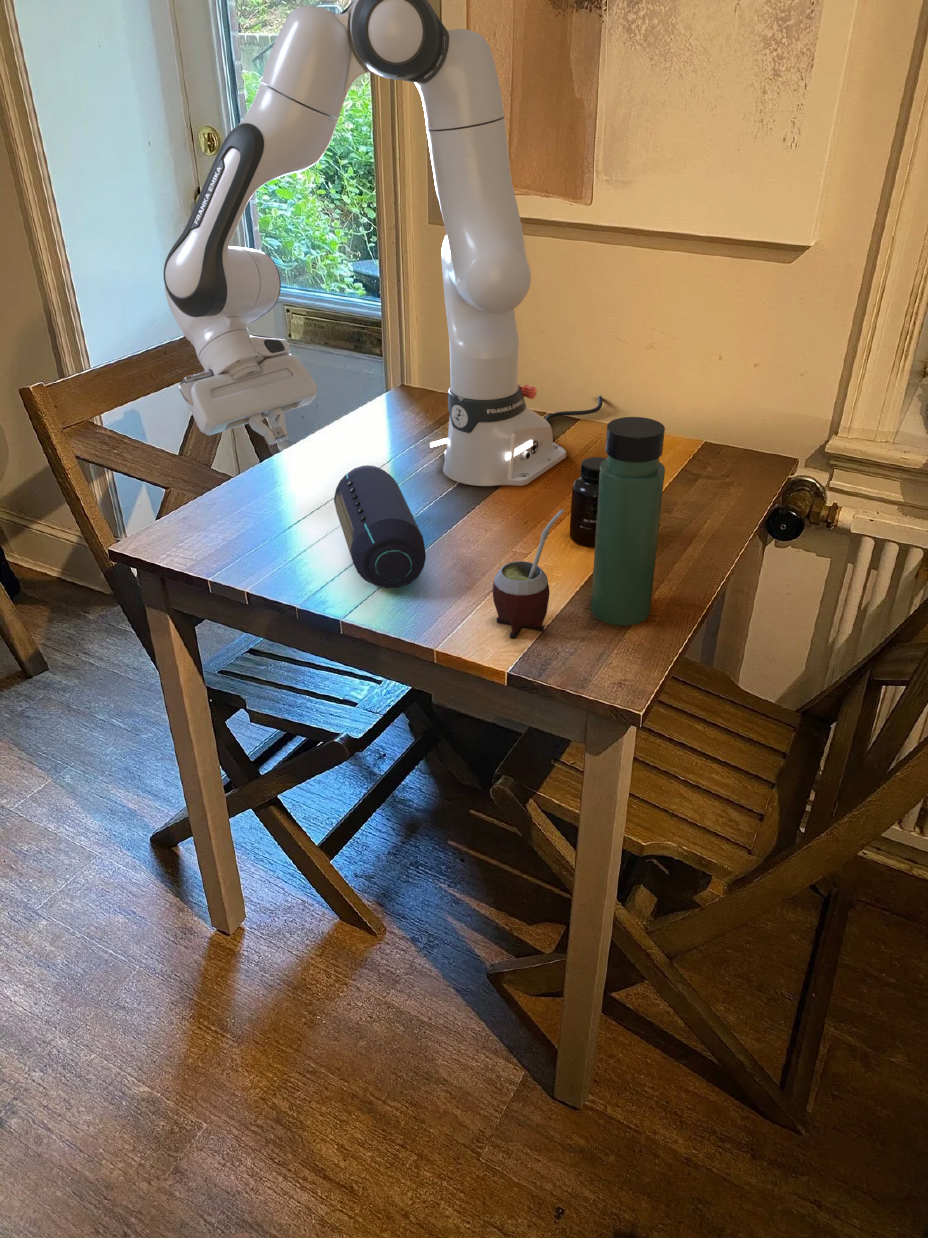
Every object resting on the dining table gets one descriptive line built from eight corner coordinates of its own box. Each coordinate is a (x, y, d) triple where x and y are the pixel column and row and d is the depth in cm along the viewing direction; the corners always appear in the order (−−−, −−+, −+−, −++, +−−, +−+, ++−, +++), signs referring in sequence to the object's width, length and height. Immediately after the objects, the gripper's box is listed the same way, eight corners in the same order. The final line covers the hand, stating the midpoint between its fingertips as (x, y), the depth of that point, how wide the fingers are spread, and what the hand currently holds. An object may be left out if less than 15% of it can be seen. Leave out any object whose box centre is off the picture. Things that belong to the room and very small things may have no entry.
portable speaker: (333, 521, 145) (327, 461, 139) (397, 513, 147) (393, 453, 141) (359, 604, 124) (353, 537, 119) (433, 593, 126) (430, 527, 121)
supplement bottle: (586, 553, 135) (590, 476, 128) (560, 534, 140) (563, 459, 133) (625, 542, 137) (631, 466, 131) (598, 524, 142) (603, 449, 136)
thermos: (614, 588, 126) (629, 410, 113) (661, 609, 122) (682, 426, 108) (578, 610, 122) (589, 427, 108) (626, 632, 117) (643, 444, 104)
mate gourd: (484, 635, 118) (484, 528, 109) (505, 603, 124) (506, 500, 116) (542, 646, 115) (545, 537, 107) (559, 613, 121) (564, 508, 113)
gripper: (178, 368, 135) (226, 450, 134) (295, 337, 147) (339, 413, 146) (168, 391, 140) (214, 470, 139) (281, 359, 152) (324, 432, 151)
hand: (279, 440), depth 143 cm, fingers closed
